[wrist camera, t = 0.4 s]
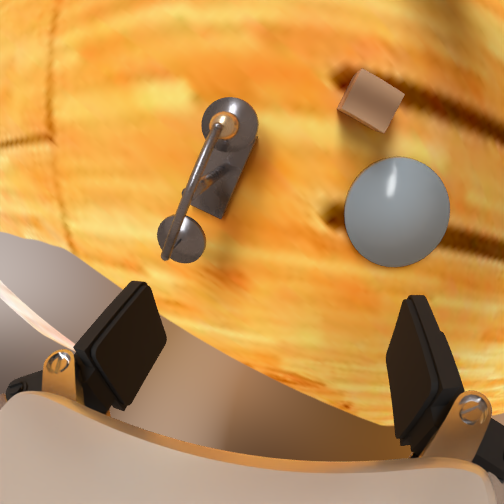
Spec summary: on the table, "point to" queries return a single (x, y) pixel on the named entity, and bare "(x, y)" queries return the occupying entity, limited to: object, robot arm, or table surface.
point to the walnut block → (370, 101)
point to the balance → (211, 176)
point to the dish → (396, 211)
